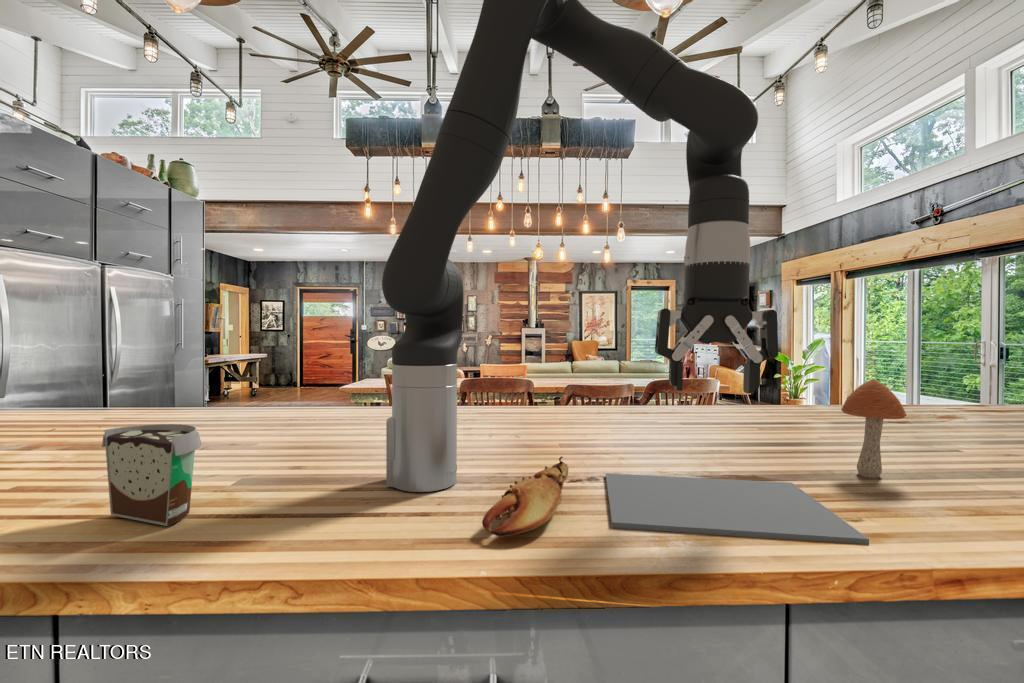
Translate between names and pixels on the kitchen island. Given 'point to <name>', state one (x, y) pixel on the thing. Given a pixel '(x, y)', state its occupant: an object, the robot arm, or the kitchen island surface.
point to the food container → (151, 471)
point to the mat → (723, 508)
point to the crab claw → (528, 502)
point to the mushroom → (872, 421)
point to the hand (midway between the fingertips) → (713, 391)
